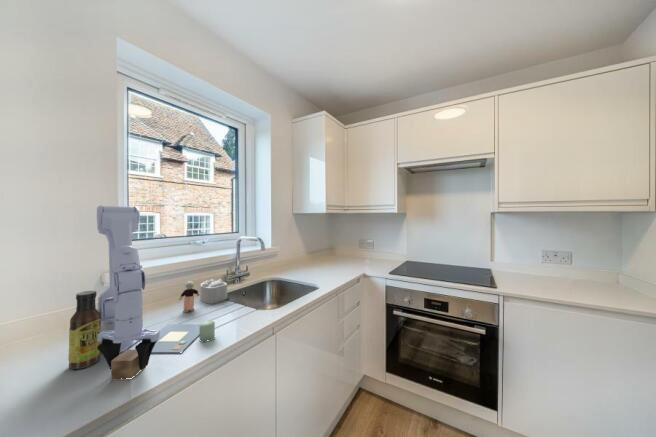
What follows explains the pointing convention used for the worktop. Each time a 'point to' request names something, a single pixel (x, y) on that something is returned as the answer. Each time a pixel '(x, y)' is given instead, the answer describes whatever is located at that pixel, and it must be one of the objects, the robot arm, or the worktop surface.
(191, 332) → the board
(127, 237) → the robot arm
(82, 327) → the sauce bottle
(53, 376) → the worktop surface
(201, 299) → the lumpy-topped squat cylinder
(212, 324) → the sage drum
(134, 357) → the walnut block
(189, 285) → the grandmother figurine
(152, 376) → the worktop surface
